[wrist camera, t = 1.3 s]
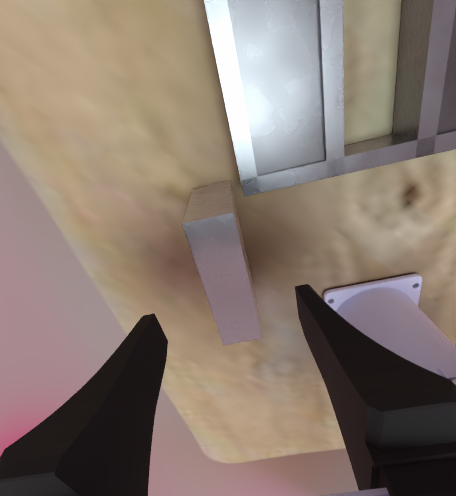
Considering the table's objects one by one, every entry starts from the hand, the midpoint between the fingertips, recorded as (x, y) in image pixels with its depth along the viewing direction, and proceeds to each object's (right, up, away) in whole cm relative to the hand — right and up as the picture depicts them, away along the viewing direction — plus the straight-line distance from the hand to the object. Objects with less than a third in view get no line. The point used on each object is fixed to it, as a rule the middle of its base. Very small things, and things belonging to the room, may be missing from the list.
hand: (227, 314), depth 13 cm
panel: (0, +4, +7) cm, 8 cm away
